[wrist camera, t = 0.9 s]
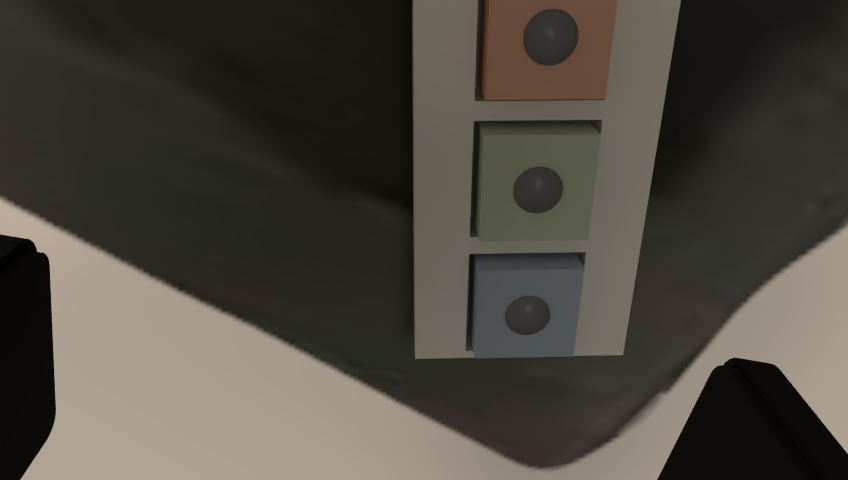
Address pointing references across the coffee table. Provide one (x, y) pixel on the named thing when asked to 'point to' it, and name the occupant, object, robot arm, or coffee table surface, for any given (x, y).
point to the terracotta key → (545, 49)
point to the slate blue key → (525, 304)
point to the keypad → (465, 105)
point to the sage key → (535, 179)
